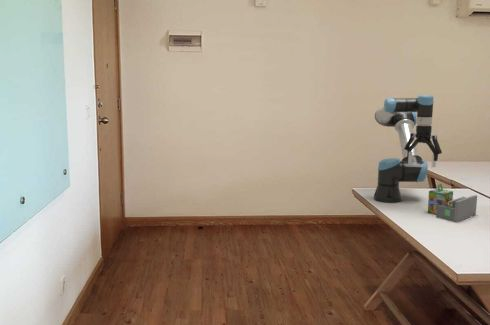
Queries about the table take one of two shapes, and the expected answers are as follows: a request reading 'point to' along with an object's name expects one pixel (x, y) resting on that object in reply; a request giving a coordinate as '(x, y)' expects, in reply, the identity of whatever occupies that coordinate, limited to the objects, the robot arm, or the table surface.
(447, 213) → the stand
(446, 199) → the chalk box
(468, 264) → the table surface
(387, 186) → the robot arm
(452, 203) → the paddle
